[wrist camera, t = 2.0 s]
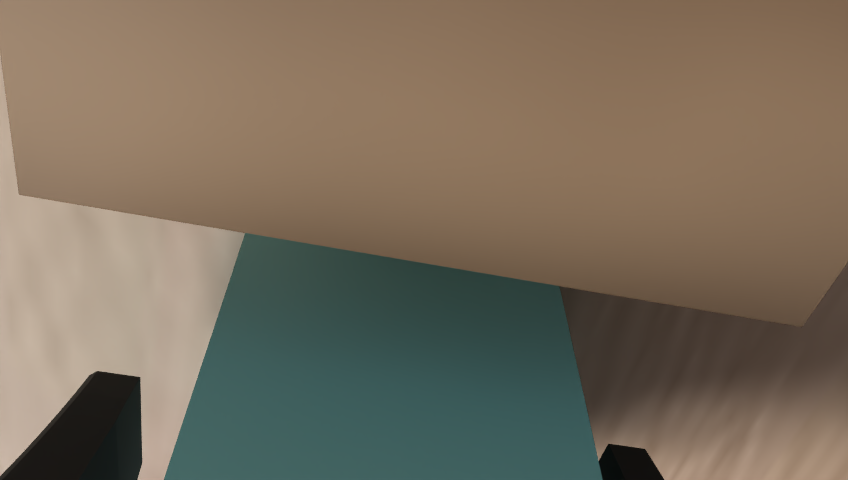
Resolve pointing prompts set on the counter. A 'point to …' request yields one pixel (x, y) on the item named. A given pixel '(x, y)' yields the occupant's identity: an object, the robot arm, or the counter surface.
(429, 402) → the teal block
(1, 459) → the counter surface
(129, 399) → the robot arm
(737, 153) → the walnut plinth
